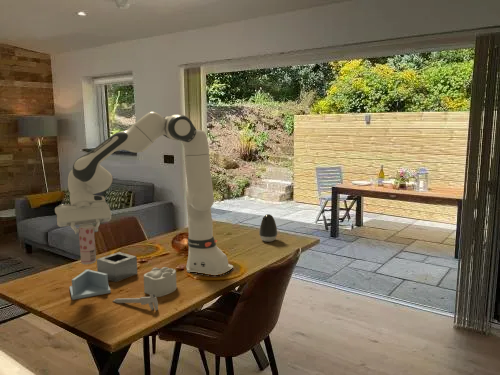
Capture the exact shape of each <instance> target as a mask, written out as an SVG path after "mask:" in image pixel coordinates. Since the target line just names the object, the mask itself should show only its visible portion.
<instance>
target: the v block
mask: <svg viewBox="0 0 500 375" xmlns="http://www.w3.org/2000/svg"><path fill="white" fill-rule="evenodd" d="M111 290H112V289H111V287H110V286H109V280H108V274H105V273H101V272H98V270H97V271H95V270H91V269H84V271H83V272H81V273H80V274H78V275H77V276H75V277H74V278H72V279H71V285H70V286H69V291H70V296H71V300H72V301H74V300H78V299H84V298H89V297H95V296H100V295H101V296H102V295H105V294H106V295H107V294H111V292H112V291H111Z"/></svg>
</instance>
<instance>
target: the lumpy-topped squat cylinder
mask: <svg viewBox="0 0 500 375" xmlns="http://www.w3.org/2000/svg"><path fill="white" fill-rule="evenodd" d="M177 287H178V286H177V270H176V269H175V268H171V267H170V268H169V267H168V266H163V267H161V268H159V267H153V268H151V270H150V271H148V272H146V273H144V274H143V290H144V294H147V295H149V296H150V295H151V294H152V295H153V294H154V295H155V297H157V298H158V297H159V298H160V297H164V296H166V295H169V294H171V293H174V292H175V291H176V289H178V288H177Z"/></svg>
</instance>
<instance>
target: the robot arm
mask: <svg viewBox="0 0 500 375" xmlns="http://www.w3.org/2000/svg"><path fill="white" fill-rule="evenodd" d="M162 136H164V137H165V138H167V139H170V140H173V141H181V143H182V144H183V148H184V150H183V152H184V165H185V176H186V182H187V190H186V193H185V196H186V211H187V222H188V223H187V224H188V225H187V226H188V237H187V246H188V254H187V255H188V256H187V261H186V265H185V269H186V272H187V273H190V272H198V273H205V274H211V275H218V274H222V273H225V272H227V271H229V270H230V269H232V268H233V269H234V265H232V264H230V263H229V260H228V259H229V258H228V256H227V254H226V253H224V252H223V251H222V249H221V248H219V247H218V246H217V243H218V239H215V238H214V236H213V232H214V231H213V217H212V209H211V208H212V207H213V205H214V202H215V201H214V200H215V198H214V197H215V196H214V188H213V181H212V173H211V160H210V159H211V158H210V147H209V140H208V137H207V134H206V132H205V131H203V130H202V129H198V128H196V126H195V125H194V123H193V121H192V119H190V118H189V117H188V116H186V115H184V114H172V115H168V116H162V114H160V113H158V112H155V111H148V112H147V113H145V114H144V115H143V116H141V118H139V119H138V120H137V121H136V122H135V123H133V125H131V126H130V127H129V128H127V129H125V130H123V131H118V132H115V133H114V134H112V135H110V136H109V137H108V138H106V139H105V140H104V141H103V142H101V143H99V144H98V145H97V146H96V147H95V148H93V149H91V151H89V152H87V153H86V154H84V155H82V156H80V157H78V158H77V159H76V160H75V161H74V162H73V165H72V169H71V170H70V171H69V173H68V177H67V188H68V193H69V202H70V203H68V204H67V203H66V204H59V205H58V206H56V207H55V208H54V213H55V215H56V223H57V224H56V225H57V226H58V227H60V228H61V227H69V226H70V228H71V229H72V230H73V231H74V235H79V227H76V226H80V225H83V224H95V226H94V225H93V227H94V233H97V232H99V226H100V225H101V224H100V223H106V222H110V221H111V220H112V212H111V208H110V206H109V204H108V202H106V198H105V196H104V195H98V194H101V193H103V192H105V191H107V190H108V189H109V188H110V187H111V186H112V184H113V181H114V179H113V178H114V177H113V174H112V173H111V172H110V171H108V170H107V169H106V168H105V167H104V166H102V165H101V163H102V162H104V160H105V161H106V159H108V157H110V156H111V155H112V154H113V153H114V152H117V151H120V150H122V151H127V152H130V153H135V154H136V153H143V152H144V151H146V150H147V149H149V148H150V147H151V146H152V145H153V143H155V142H156V140H157V139H158V138H160V137H162ZM233 269H232V270H233Z"/></svg>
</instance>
